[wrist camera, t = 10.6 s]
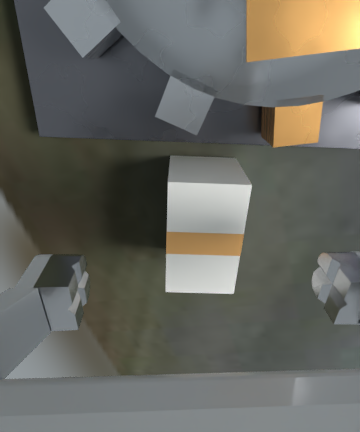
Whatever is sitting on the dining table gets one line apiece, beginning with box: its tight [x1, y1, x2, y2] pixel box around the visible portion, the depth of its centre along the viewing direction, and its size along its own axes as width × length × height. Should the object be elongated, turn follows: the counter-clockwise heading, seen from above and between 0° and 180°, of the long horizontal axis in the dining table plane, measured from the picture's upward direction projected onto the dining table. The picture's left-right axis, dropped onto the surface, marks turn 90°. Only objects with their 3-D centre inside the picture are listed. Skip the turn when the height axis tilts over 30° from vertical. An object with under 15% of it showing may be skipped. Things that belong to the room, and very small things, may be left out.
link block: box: [166, 155, 252, 294], centre depth 15 cm, size 6×4×4 cm, turn 178°
